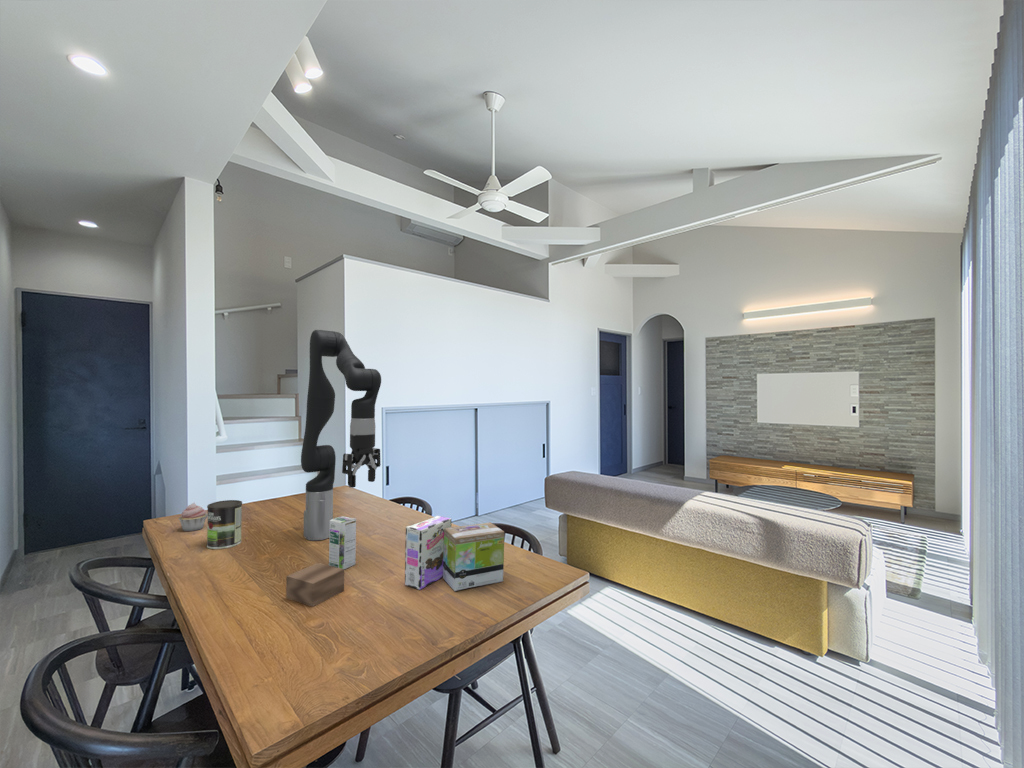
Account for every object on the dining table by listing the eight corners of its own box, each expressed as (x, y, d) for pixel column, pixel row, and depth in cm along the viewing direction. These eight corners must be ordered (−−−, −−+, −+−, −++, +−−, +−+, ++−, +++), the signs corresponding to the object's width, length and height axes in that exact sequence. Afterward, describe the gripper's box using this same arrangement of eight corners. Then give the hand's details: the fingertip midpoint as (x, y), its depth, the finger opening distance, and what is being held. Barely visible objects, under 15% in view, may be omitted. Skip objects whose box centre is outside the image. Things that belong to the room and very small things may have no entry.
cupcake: (212, 527, 174) (212, 502, 174) (184, 534, 166) (185, 507, 166) (201, 523, 179) (201, 498, 179) (173, 530, 171) (173, 503, 171)
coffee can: (220, 551, 150) (220, 508, 150) (199, 546, 154) (200, 505, 154) (248, 541, 160) (249, 501, 160) (228, 537, 163) (229, 498, 163)
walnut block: (286, 599, 117) (286, 576, 118) (318, 584, 126) (318, 562, 126) (312, 607, 113) (313, 583, 113) (344, 591, 122) (344, 569, 122)
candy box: (419, 590, 122) (420, 530, 122) (404, 585, 125) (404, 526, 125) (452, 572, 134) (452, 517, 134) (436, 568, 137) (437, 514, 137)
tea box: (454, 593, 121) (455, 538, 121) (442, 578, 130) (442, 527, 130) (504, 582, 128) (505, 530, 128) (489, 569, 137) (489, 520, 137)
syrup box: (328, 567, 137) (328, 519, 137) (343, 560, 142) (343, 515, 142) (341, 571, 135) (341, 522, 135) (356, 564, 140) (356, 517, 140)
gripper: (369, 429, 149) (368, 478, 149) (336, 433, 136) (335, 487, 136) (387, 431, 146) (386, 481, 146) (355, 435, 133) (354, 490, 133)
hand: (361, 484), depth 141 cm, fingers open, 8 cm apart
